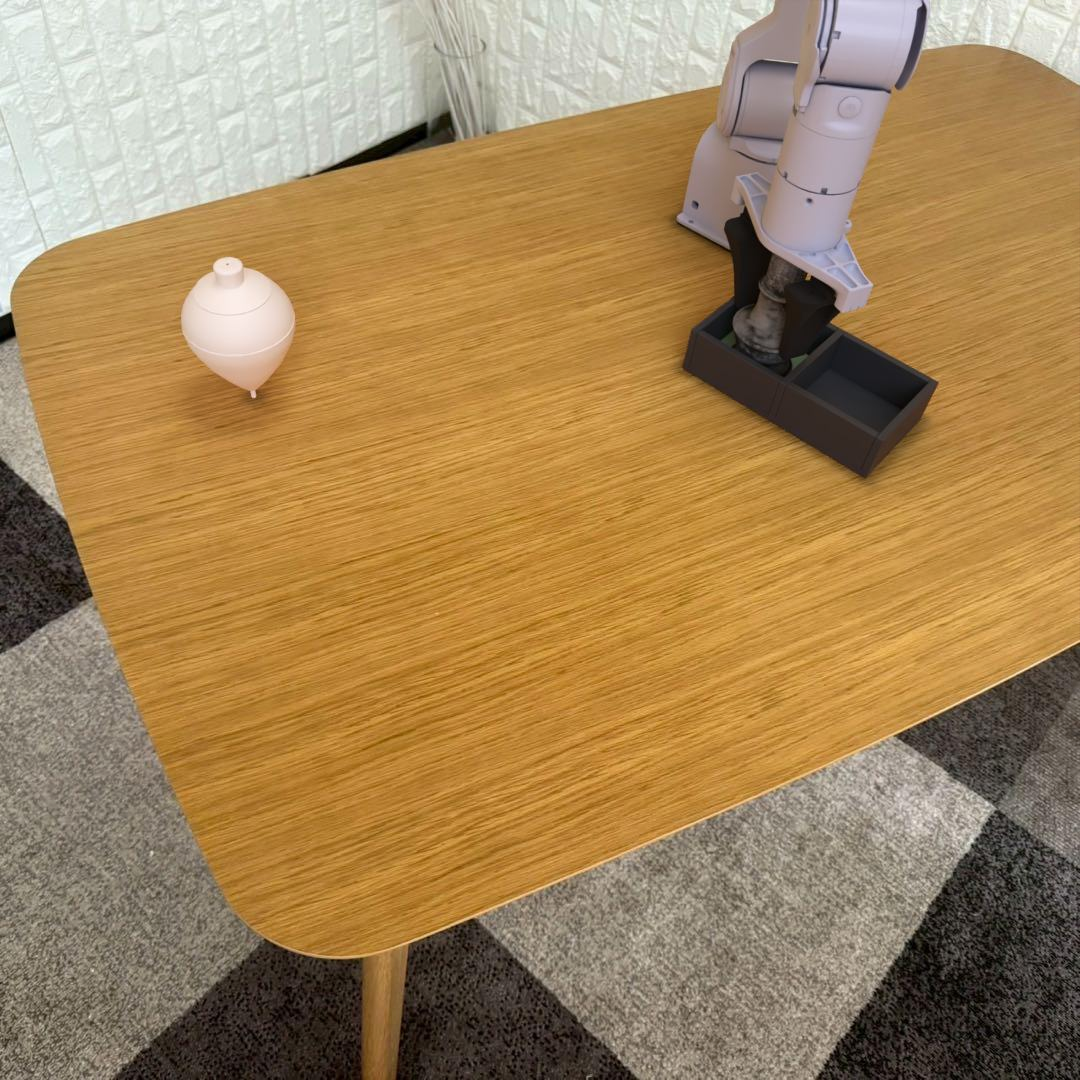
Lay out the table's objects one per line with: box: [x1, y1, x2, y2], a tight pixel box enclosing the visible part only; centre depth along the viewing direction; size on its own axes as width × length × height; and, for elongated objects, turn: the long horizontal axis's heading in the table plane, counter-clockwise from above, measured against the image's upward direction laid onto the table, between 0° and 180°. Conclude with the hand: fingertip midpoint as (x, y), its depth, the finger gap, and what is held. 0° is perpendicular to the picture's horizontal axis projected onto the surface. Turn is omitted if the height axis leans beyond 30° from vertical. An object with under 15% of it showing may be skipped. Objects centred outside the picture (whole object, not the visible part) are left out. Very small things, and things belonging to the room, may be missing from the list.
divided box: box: [682, 296, 940, 479], centre depth 79 cm, size 17×9×4 cm, turn 49°
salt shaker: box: [731, 253, 809, 378], centre depth 77 cm, size 6×6×12 cm
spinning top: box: [180, 256, 296, 399], centre depth 72 cm, size 8×8×12 cm
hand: (769, 329), depth 79 cm, fingers closed on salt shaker, 6 cm apart
